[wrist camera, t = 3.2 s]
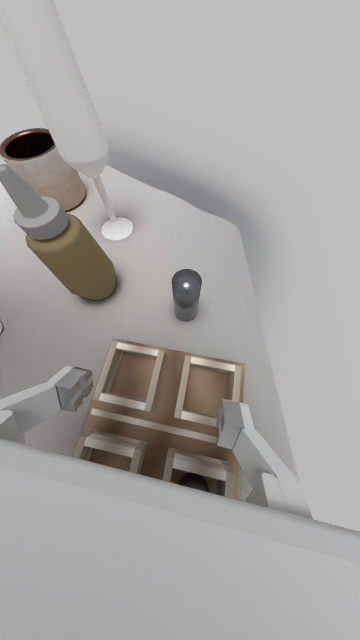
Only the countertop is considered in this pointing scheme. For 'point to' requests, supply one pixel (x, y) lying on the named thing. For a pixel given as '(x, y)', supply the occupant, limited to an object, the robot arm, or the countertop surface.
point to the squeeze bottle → (60, 240)
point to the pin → (186, 293)
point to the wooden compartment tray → (163, 416)
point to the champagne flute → (60, 93)
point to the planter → (43, 166)
